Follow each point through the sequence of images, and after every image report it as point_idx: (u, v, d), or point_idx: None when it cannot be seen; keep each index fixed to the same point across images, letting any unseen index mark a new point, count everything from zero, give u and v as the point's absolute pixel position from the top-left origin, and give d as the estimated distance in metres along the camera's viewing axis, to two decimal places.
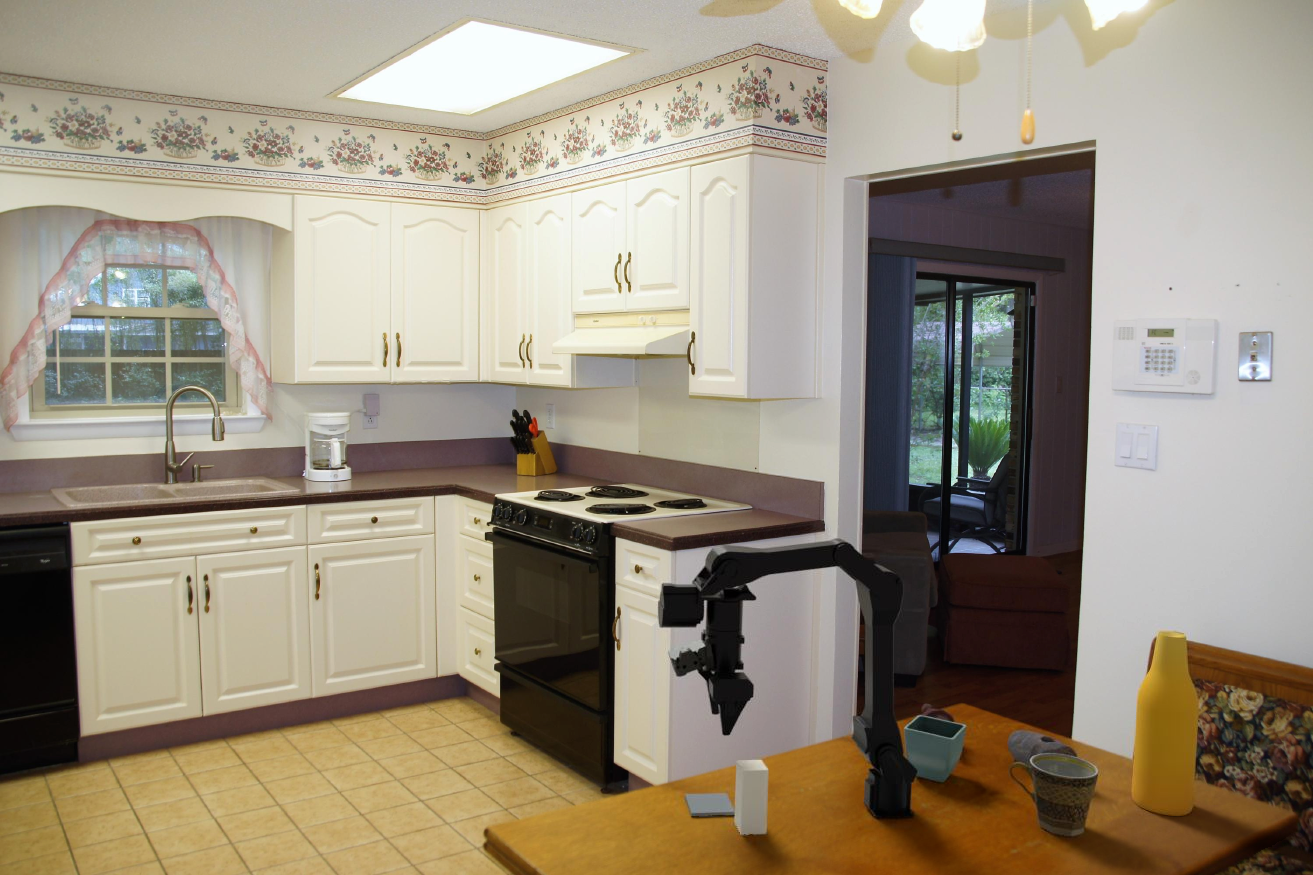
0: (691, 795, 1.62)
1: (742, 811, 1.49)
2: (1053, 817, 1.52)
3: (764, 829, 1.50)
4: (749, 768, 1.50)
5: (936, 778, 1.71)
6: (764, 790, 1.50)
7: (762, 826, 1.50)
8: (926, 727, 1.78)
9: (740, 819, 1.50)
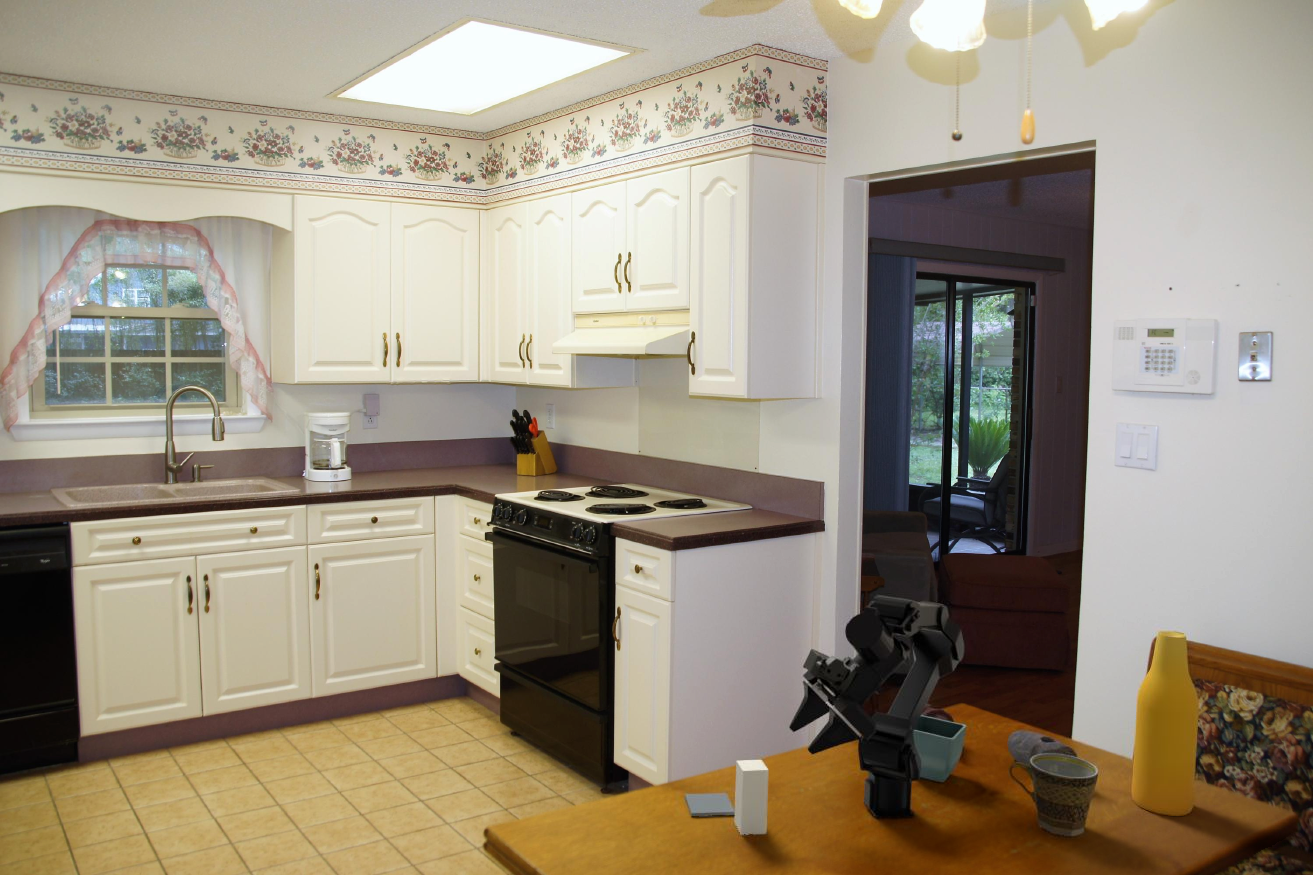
0: (691, 795, 1.62)
1: (742, 811, 1.49)
2: (1053, 817, 1.52)
3: (764, 829, 1.50)
4: (749, 768, 1.50)
5: (936, 778, 1.71)
6: (764, 790, 1.50)
7: (762, 826, 1.50)
8: (926, 727, 1.78)
9: (740, 819, 1.50)
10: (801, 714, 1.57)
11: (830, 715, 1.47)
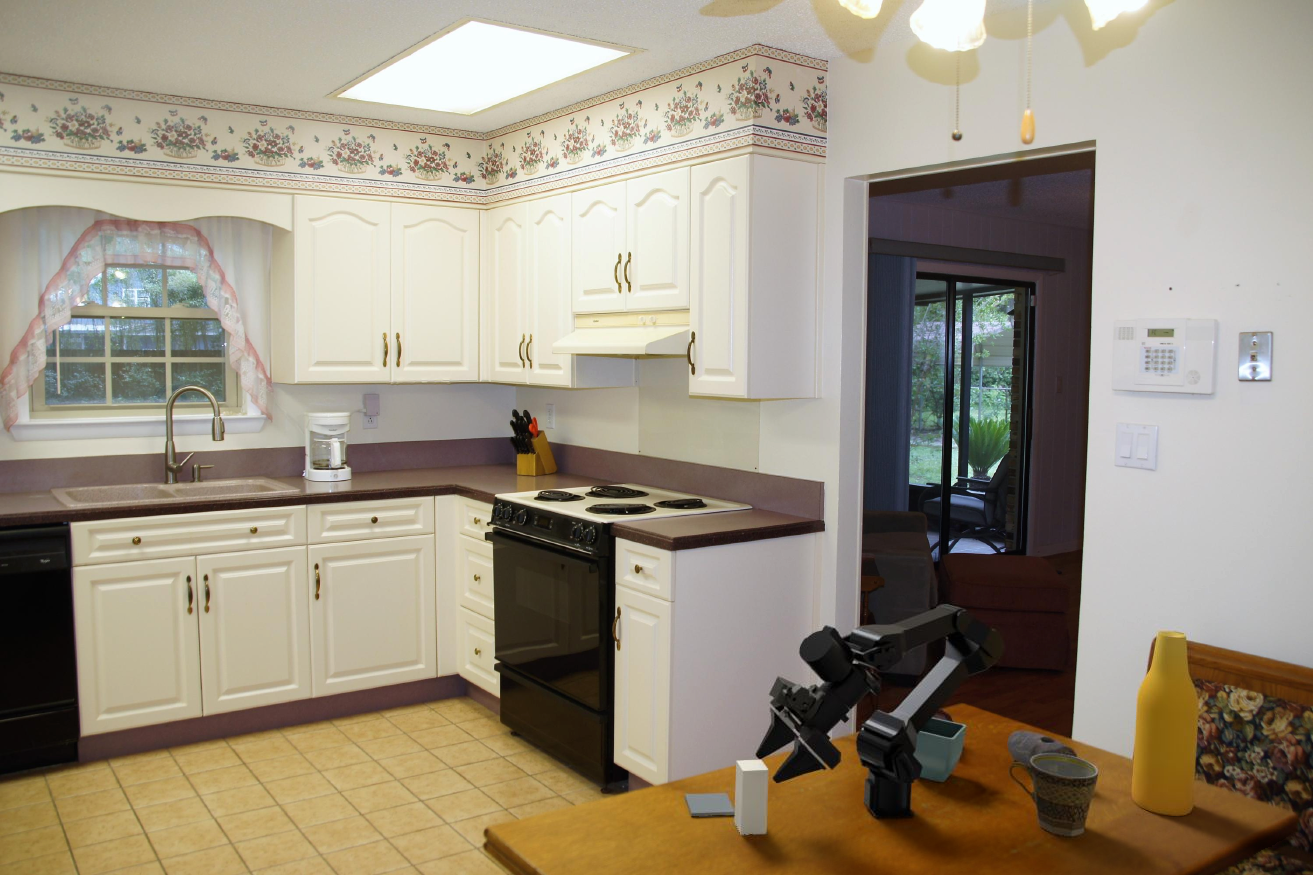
0: (691, 795, 1.62)
1: (742, 811, 1.49)
2: (1053, 817, 1.52)
3: (764, 829, 1.50)
4: (749, 768, 1.50)
5: (936, 778, 1.71)
6: (764, 790, 1.50)
7: (762, 826, 1.50)
8: (926, 727, 1.78)
9: (740, 819, 1.50)
10: (767, 741, 1.56)
11: (795, 744, 1.46)
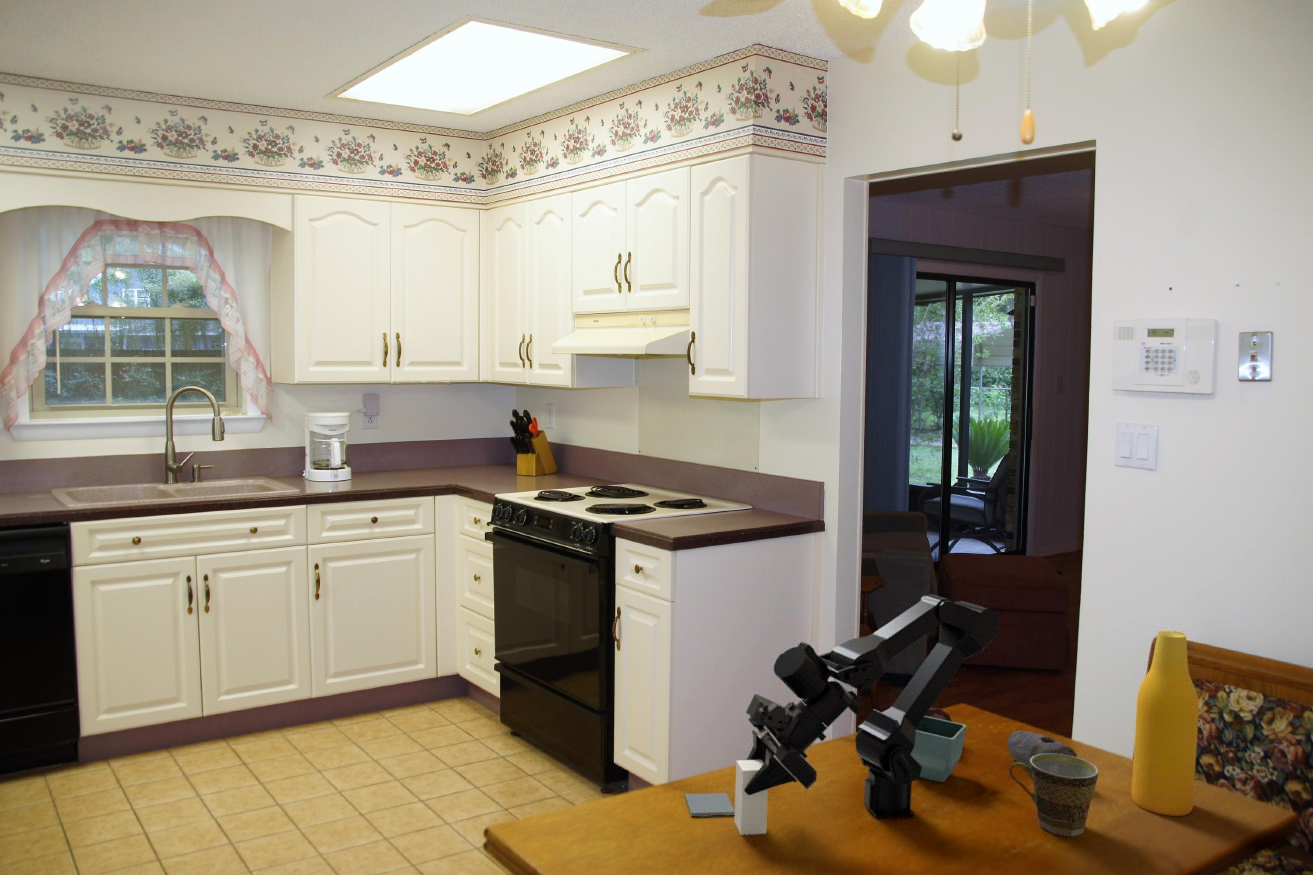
0: (691, 795, 1.62)
1: (742, 811, 1.49)
2: (1053, 817, 1.52)
3: (764, 829, 1.50)
4: (749, 768, 1.50)
5: (936, 778, 1.71)
6: (764, 790, 1.50)
7: (762, 826, 1.50)
8: (926, 727, 1.78)
9: (740, 819, 1.50)
10: None
11: (766, 756, 1.48)
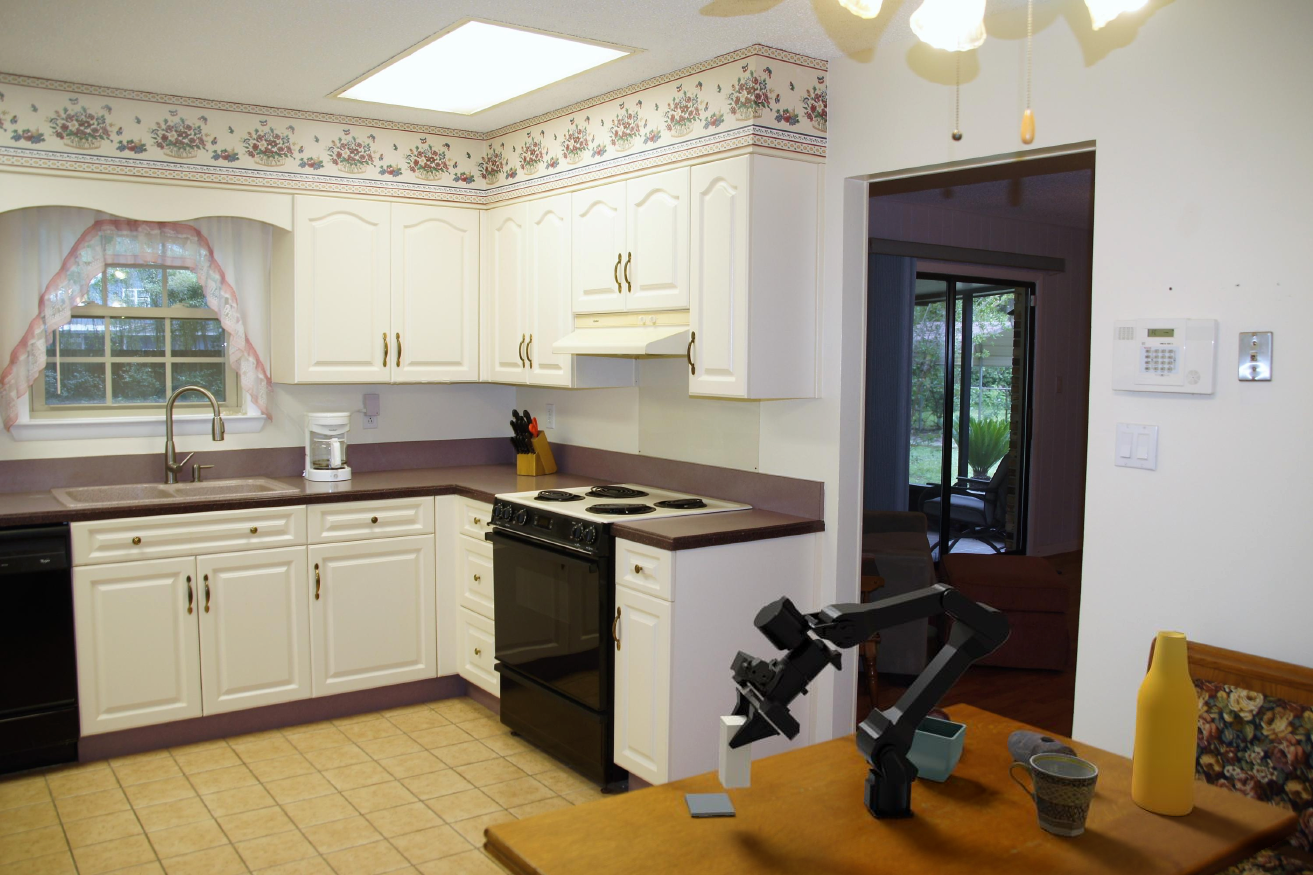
0: (691, 795, 1.62)
1: (726, 765, 1.51)
2: (1053, 817, 1.52)
3: (748, 783, 1.52)
4: (733, 722, 1.52)
5: (936, 778, 1.71)
6: (748, 744, 1.52)
7: (746, 780, 1.52)
8: (926, 727, 1.78)
9: (724, 773, 1.52)
10: None
11: (750, 711, 1.50)
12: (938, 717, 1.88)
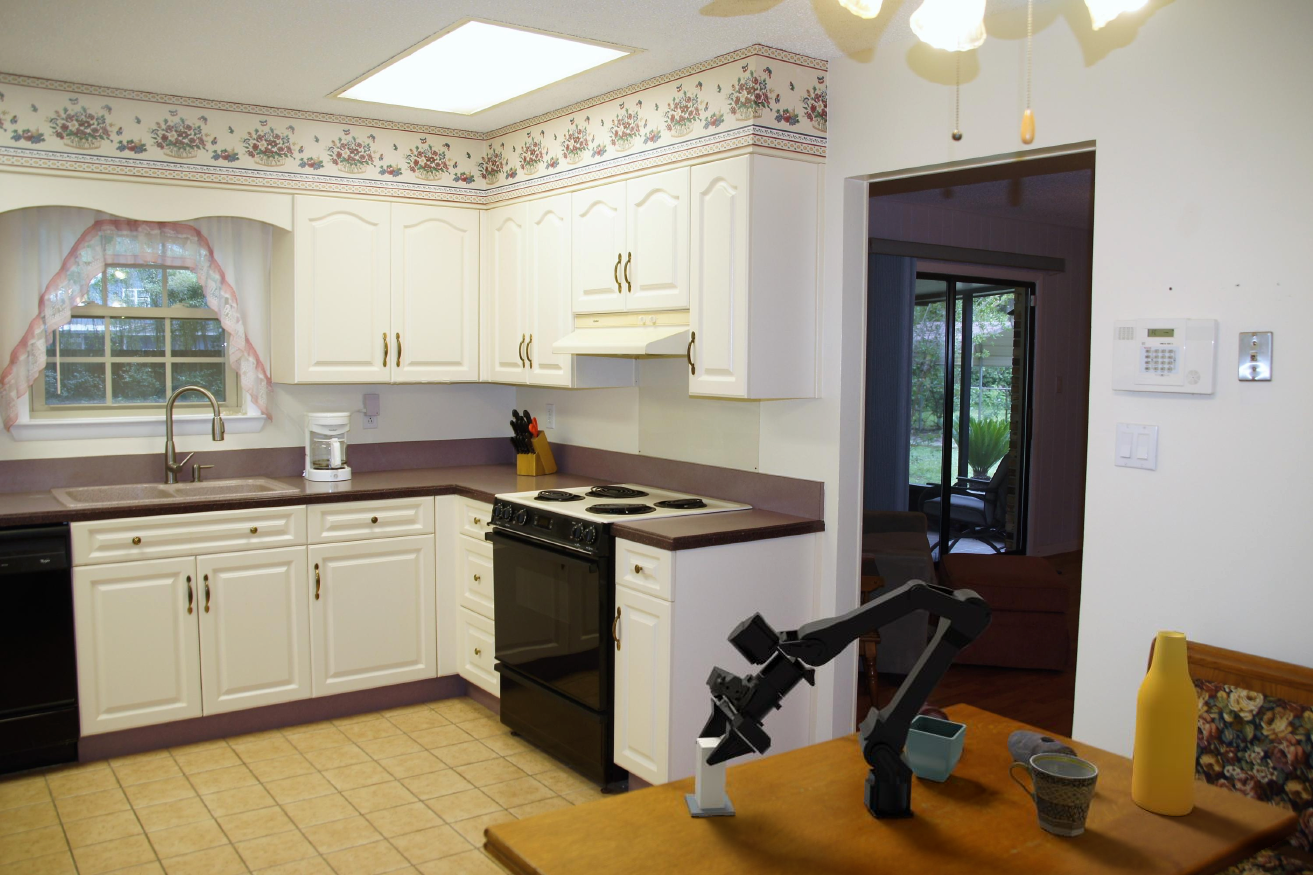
0: (691, 795, 1.62)
1: (701, 786, 1.57)
2: (1053, 817, 1.52)
3: (722, 803, 1.57)
4: (708, 745, 1.57)
5: (936, 778, 1.71)
6: (722, 766, 1.57)
7: (720, 800, 1.57)
8: (926, 727, 1.78)
9: (699, 793, 1.57)
10: (707, 730, 1.62)
11: (727, 728, 1.54)
12: (936, 716, 1.89)
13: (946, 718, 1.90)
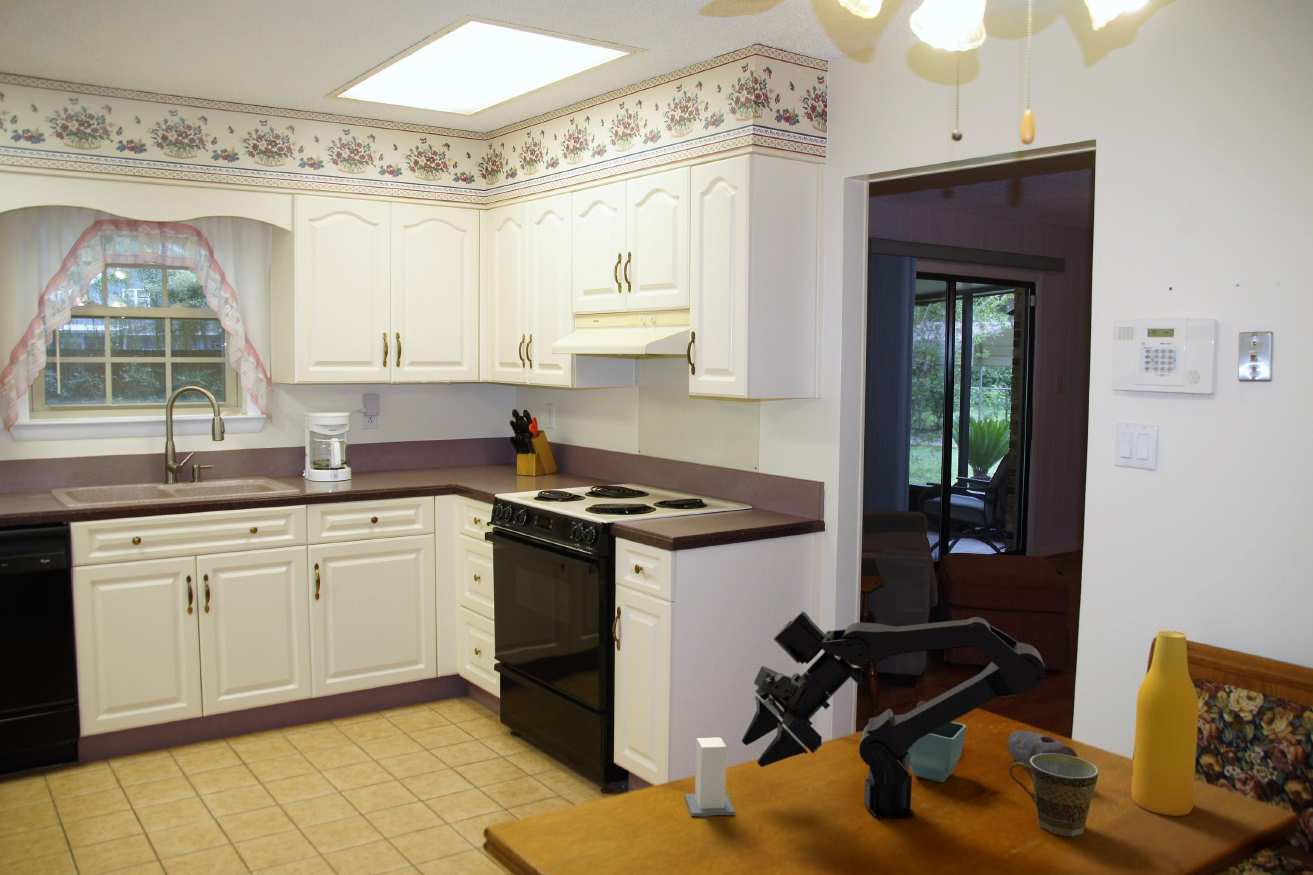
0: (691, 795, 1.62)
1: (701, 786, 1.57)
2: (1053, 817, 1.52)
3: (722, 803, 1.57)
4: (708, 745, 1.57)
5: (936, 778, 1.71)
6: (722, 766, 1.57)
7: (720, 800, 1.57)
8: None
9: (699, 793, 1.57)
10: (753, 728, 1.64)
11: (778, 729, 1.54)
12: None
13: None
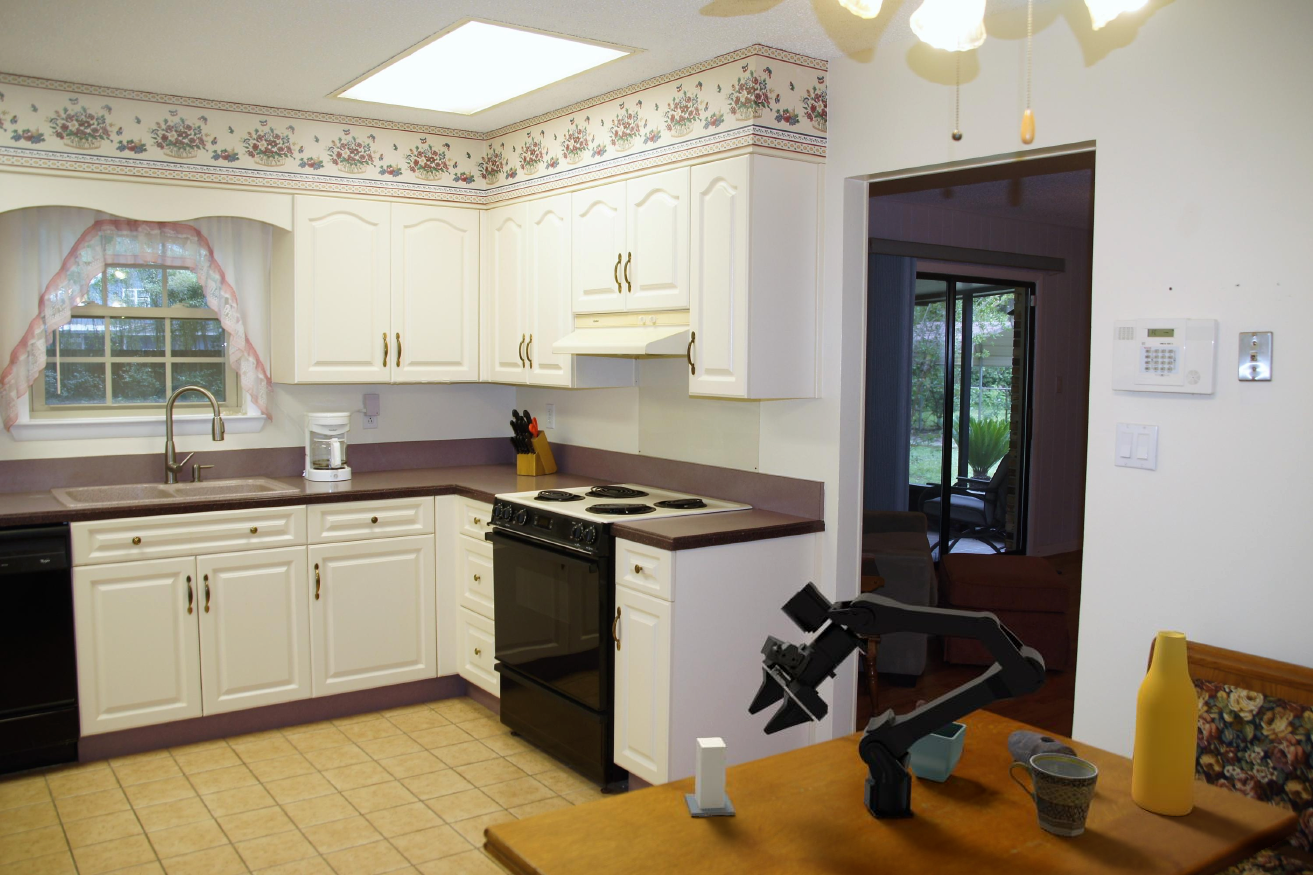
0: (691, 795, 1.62)
1: (701, 786, 1.57)
2: (1053, 817, 1.52)
3: (722, 803, 1.57)
4: (708, 745, 1.57)
5: (936, 778, 1.71)
6: (722, 766, 1.57)
7: (720, 800, 1.57)
8: None
9: (699, 793, 1.57)
10: (759, 698, 1.64)
11: (784, 697, 1.54)
12: None
13: None
